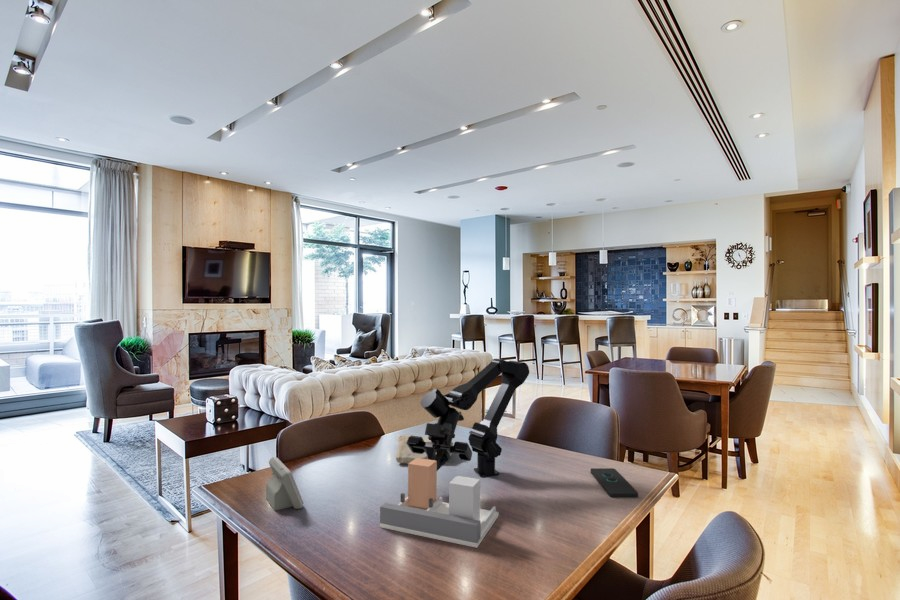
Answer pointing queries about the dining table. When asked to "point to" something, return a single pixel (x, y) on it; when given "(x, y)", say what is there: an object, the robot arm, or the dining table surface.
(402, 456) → the beige rock
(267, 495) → the digital clock
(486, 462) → the robot arm
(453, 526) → the base
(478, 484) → the tall white block
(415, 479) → the tall tan brick
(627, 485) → the smart home device
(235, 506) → the dining table surface
